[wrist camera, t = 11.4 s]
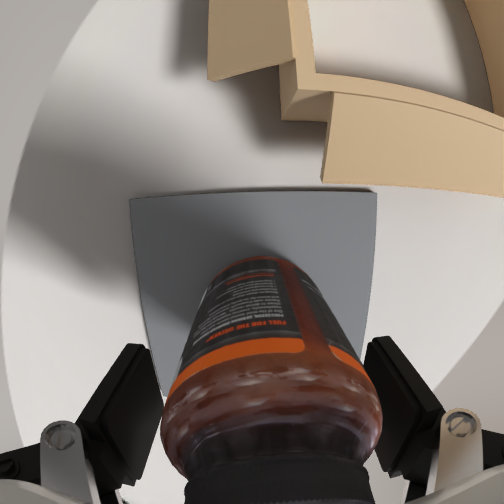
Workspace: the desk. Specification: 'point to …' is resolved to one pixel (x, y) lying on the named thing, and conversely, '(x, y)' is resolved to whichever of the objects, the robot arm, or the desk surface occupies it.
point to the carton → (370, 102)
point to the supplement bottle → (270, 395)
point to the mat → (249, 254)
